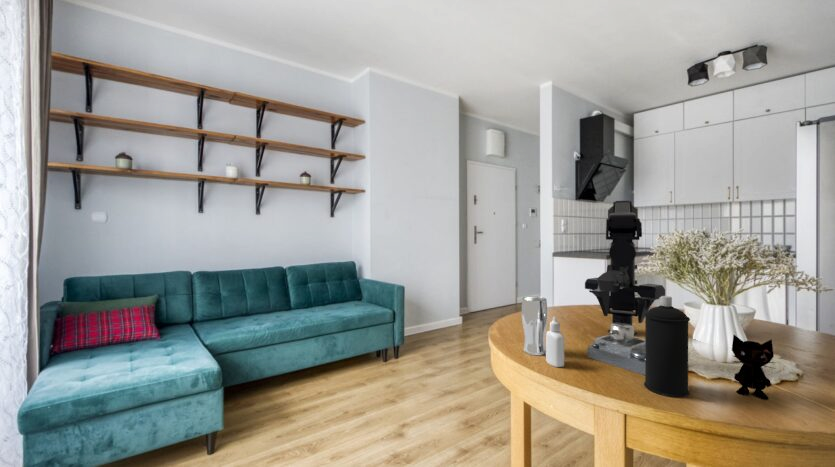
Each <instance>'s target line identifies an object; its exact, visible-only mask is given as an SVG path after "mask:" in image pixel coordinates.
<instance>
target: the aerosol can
mask: <svg viewBox="0 0 835 467" xmlns="http://www.w3.org/2000/svg"><path fill="white" fill-rule="evenodd" d="M672 300H673V298H672V296H669V295H665V296H661V297H660V305H659V306H654V307H650V308H649V310H648V312H646V313H645V314H644V316H645V318H644V320H645V322H644V323H645V324H644V325H645V328H644V329H645V330H644V331H645V336H644V337H645V339H644V340H645V375H644V376H645V378H644V379H645V381H644V383H643V385H644V388H646V389H647V390H648V391H651V392H653V393H655V394H657V395H661V396H665V397H669V398H670V397H671V398H685V397H688V396H690V393H691V392H690V390H689V321H690V320H691V318H690V317H689V316H687V315H686V313H684V311H682V310H680V309H678V308H676V307H674V306H673V303H672V302H673V301H672Z"/></svg>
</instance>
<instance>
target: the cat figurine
mask: <svg viewBox="0 0 835 467" xmlns="http://www.w3.org/2000/svg"><path fill="white" fill-rule="evenodd" d="M731 346H732V347H731V351H732V354H733V357H734V358H736V359H737V361H736V360H732V362H734V363H742V365H741V367H740V369H739V370H738V372H736V373H734V376H733V378H734V380H735V381H736V382H738V383H739V385H740V387H739V388H738V389H737V390H736V391H735V393H736V394H738V395H740V396H750V394H751V392H750V389H751V390H754V391H753V393H752V394H753V396H755V398H758V399H760V400H764V401H765V400H766V401H767V400H769V399H770V398H769V397H768V396H767V394H766V392H764V390H765V389H766V388H769V387H771V386H772V384H771V380H770V379H769V378H768V377H766V376H767V375H766V374H765V372H764V370H763V367H766V368H769V369H773V367H771V366H767V364H773V363H776V361H772V360H773V358H774V357H775V356H774V348H773V347H774V346H773V339H770V340H767V341H765V342H763V343H760V342H758V341H753V340H745V341H743V340H742V339H741V338H740V337H738V336H737V335H735V334H733V338H732V345H731ZM771 361H772V362H771ZM774 369H775V370H776V368H774Z"/></svg>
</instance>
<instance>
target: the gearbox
mask: <svg viewBox="0 0 835 467" xmlns="http://www.w3.org/2000/svg"><path fill="white" fill-rule="evenodd" d="M587 358H589V359H592V360H595V361H598V362H601V363H605V364H607V365H611V366H614V367H618V368H620V369H624V370H627V371H631V372H634V373H637V374H641V375H643V376H645V339H643V338H639V337H635V336H634V345H633V346H630V347H629V346H625V345H621V344H617V343H613V342H611V334H610V333H609V334H606V335H603V336H598V337H595V338H594V339H593V343H592V344H591V345H587Z"/></svg>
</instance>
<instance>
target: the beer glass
mask: <svg viewBox="0 0 835 467" xmlns="http://www.w3.org/2000/svg"><path fill="white" fill-rule="evenodd" d="M521 299H522V301H521V323H522V327H523V334H524V344H523V353H525V354H527V355H529V356H530V355H531V356H543V355H546V342H545V339H546V332H547V331H546V330H547V325H548V312H549V311H548V302H547V301H548V300H547V298H545V297H541V296H524V297H522V298H521Z"/></svg>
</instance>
